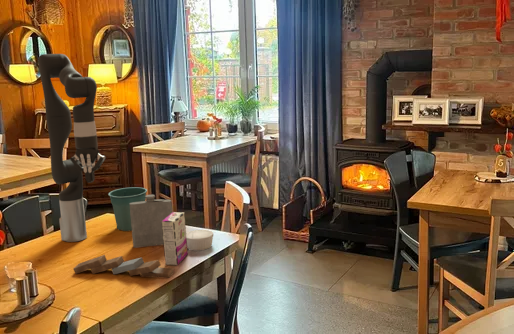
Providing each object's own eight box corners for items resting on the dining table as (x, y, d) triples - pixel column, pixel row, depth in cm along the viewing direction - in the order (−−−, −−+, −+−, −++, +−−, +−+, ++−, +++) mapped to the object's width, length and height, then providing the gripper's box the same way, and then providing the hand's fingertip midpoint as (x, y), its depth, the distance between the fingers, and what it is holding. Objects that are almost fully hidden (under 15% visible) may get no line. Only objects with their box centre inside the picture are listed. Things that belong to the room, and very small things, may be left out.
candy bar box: (175, 254, 195) (172, 211, 192) (188, 254, 194) (185, 212, 191) (164, 265, 184) (160, 220, 181) (177, 265, 183) (174, 221, 180)
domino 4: (128, 270, 175) (149, 266, 170) (137, 263, 179) (158, 259, 174) (130, 275, 175) (151, 272, 170) (140, 269, 180) (160, 265, 174)
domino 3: (111, 269, 177) (133, 263, 173) (120, 262, 182) (141, 257, 177) (113, 274, 178) (135, 268, 173) (122, 268, 182) (144, 262, 178)
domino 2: (90, 268, 178) (116, 261, 177) (96, 263, 183) (122, 255, 182) (92, 274, 179) (118, 266, 177) (98, 268, 184) (124, 260, 182)
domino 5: (140, 272, 175) (168, 273, 173) (146, 266, 179) (173, 267, 178) (140, 278, 175) (169, 279, 173) (146, 272, 180) (174, 273, 178)
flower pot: (135, 234, 220) (132, 197, 217) (103, 231, 226) (100, 195, 223) (157, 223, 235) (154, 188, 232) (127, 220, 241) (124, 186, 238)
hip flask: (133, 248, 203) (128, 198, 199) (133, 244, 207) (129, 195, 203) (174, 244, 206) (170, 195, 202) (174, 241, 210) (170, 192, 206)
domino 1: (73, 268, 179) (99, 259, 178) (79, 263, 184) (104, 254, 182) (75, 273, 179) (101, 265, 178) (81, 268, 184) (106, 259, 183)
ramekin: (179, 246, 203) (178, 233, 202) (204, 240, 210) (203, 227, 209) (194, 254, 194) (193, 240, 193) (219, 247, 201) (218, 234, 200)
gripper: (107, 132, 187) (112, 179, 190) (73, 133, 189) (78, 180, 192) (98, 135, 180) (103, 184, 183) (62, 136, 182) (68, 184, 185)
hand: (90, 182), depth 188 cm, fingers closed
